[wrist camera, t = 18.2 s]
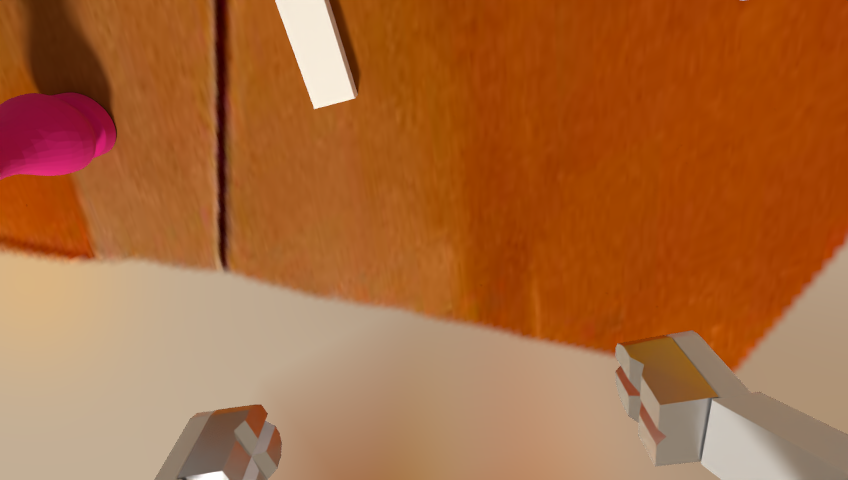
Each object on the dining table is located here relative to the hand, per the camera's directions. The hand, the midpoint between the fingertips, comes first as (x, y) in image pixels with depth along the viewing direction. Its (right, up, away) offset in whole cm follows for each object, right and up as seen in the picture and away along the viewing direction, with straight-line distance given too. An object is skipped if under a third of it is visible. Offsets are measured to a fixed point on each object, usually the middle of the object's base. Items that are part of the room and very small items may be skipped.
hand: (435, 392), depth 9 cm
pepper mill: (-35, +15, +32) cm, 49 cm away
